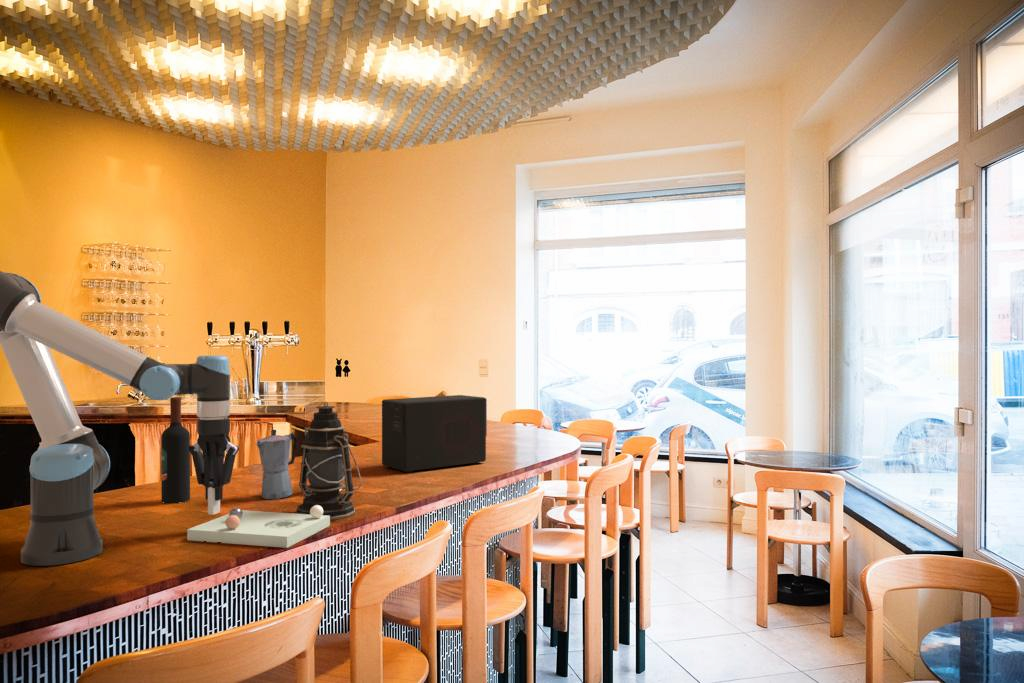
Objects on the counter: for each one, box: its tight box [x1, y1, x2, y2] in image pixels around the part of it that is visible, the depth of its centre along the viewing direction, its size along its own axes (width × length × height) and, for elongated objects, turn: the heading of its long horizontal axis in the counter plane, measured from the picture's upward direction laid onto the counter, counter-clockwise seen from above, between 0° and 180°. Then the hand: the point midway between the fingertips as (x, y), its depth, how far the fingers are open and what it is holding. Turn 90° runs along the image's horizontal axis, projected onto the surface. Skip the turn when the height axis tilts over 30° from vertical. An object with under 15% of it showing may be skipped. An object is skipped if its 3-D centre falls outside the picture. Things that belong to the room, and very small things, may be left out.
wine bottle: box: [160, 396, 191, 504], centre depth 211 cm, size 8×8×30 cm
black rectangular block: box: [381, 394, 488, 474], centre depth 272 cm, size 38×20×25 cm, turn 128°
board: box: [186, 509, 331, 549], centre depth 177 cm, size 20×26×2 cm
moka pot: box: [255, 429, 299, 500], centre depth 218 cm, size 10×15×20 cm, turn 152°
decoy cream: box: [310, 505, 323, 518], centre depth 181 cm, size 3×3×3 cm
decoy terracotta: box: [225, 515, 240, 529], centre depth 171 cm, size 3×3×3 cm
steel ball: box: [228, 506, 243, 519], centre depth 178 cm, size 3×3×3 cm
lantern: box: [295, 401, 363, 521], centre depth 196 cm, size 20×16×30 cm
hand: (214, 513), depth 180 cm, fingers closed
